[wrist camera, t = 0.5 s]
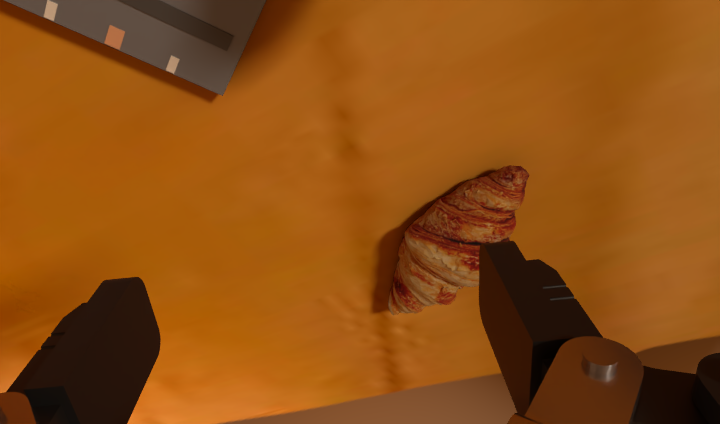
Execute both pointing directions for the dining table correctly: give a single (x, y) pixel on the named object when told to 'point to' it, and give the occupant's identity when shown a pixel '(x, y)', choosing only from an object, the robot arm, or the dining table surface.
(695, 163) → the dining table surface
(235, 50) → the board
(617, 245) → the dining table surface
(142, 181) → the dining table surface
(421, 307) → the croissant
